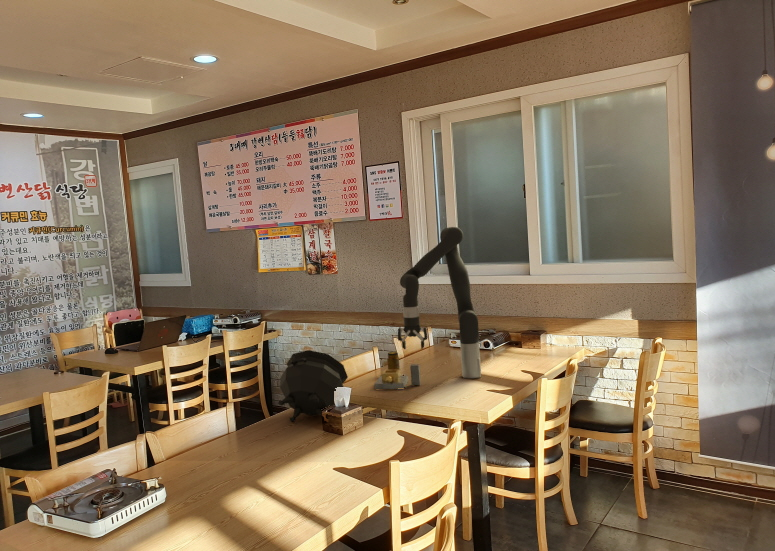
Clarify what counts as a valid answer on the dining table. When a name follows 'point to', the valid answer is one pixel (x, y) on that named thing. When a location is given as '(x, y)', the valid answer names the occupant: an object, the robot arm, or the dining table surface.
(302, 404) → the cauldron
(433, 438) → the dining table surface
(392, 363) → the condiment
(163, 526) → the dining table surface
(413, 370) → the gray rectangular block
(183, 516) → the dining table surface
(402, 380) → the square stand
